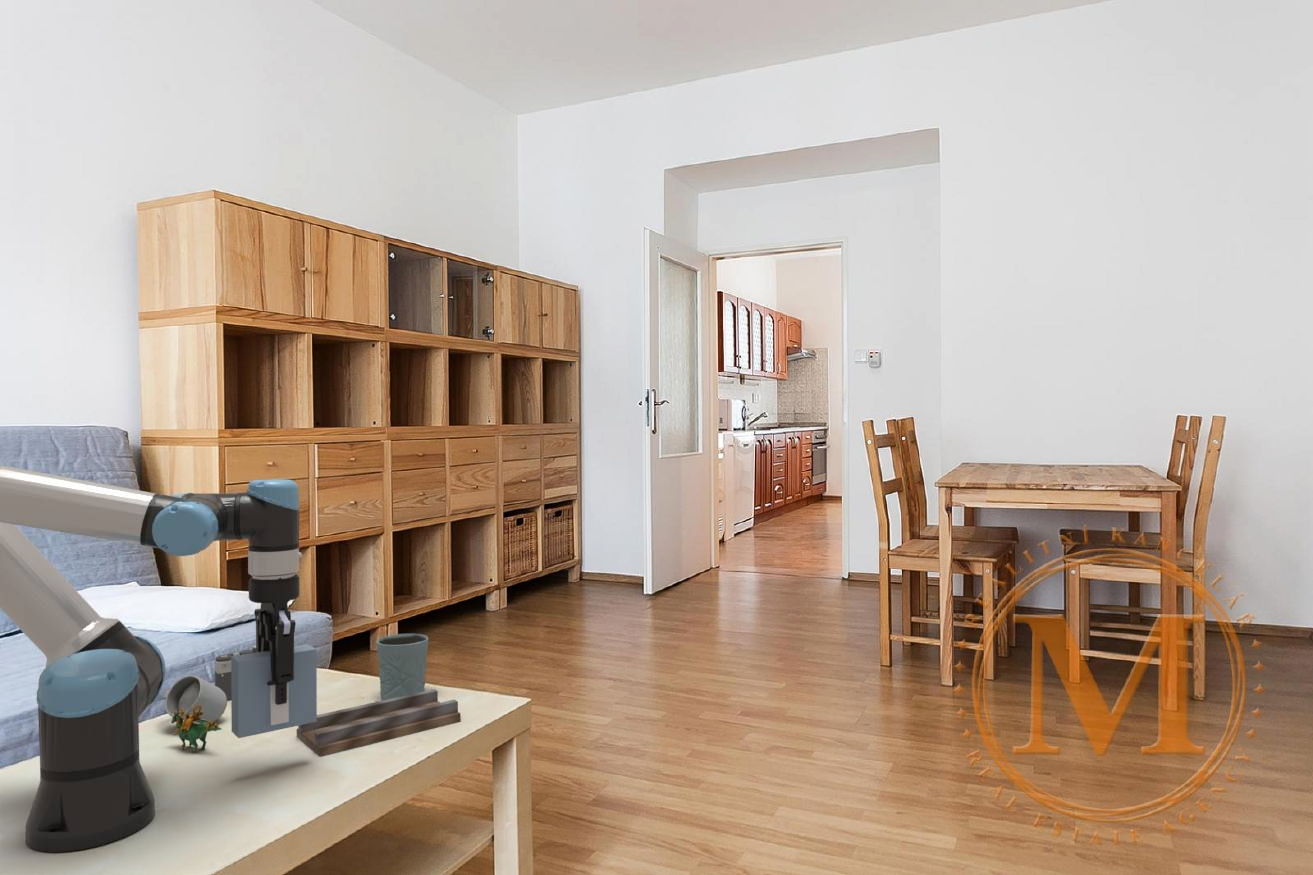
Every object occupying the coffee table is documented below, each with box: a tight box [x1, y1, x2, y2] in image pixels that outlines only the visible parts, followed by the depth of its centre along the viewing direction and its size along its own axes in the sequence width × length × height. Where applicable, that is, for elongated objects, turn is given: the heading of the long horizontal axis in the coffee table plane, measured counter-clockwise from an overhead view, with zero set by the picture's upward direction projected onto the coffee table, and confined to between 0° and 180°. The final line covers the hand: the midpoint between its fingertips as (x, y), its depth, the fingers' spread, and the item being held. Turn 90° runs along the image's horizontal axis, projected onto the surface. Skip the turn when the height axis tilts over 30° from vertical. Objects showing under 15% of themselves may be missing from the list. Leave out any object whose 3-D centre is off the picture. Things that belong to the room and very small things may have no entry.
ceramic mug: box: [162, 674, 228, 724], centre depth 163 cm, size 11×8×8 cm
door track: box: [296, 688, 462, 757], centre depth 160 cm, size 26×12×4 cm, turn 130°
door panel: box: [230, 644, 318, 739], centre depth 141 cm, size 12×4×12 cm, turn 130°
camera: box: [214, 644, 256, 702], centre depth 179 cm, size 16×10×10 cm, turn 130°
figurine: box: [170, 705, 223, 754], centre depth 150 cm, size 3×12×8 cm, turn 67°
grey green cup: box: [375, 633, 429, 701], centre depth 178 cm, size 10×10×12 cm
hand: (274, 718), depth 141 cm, fingers closed on door panel, 4 cm apart
